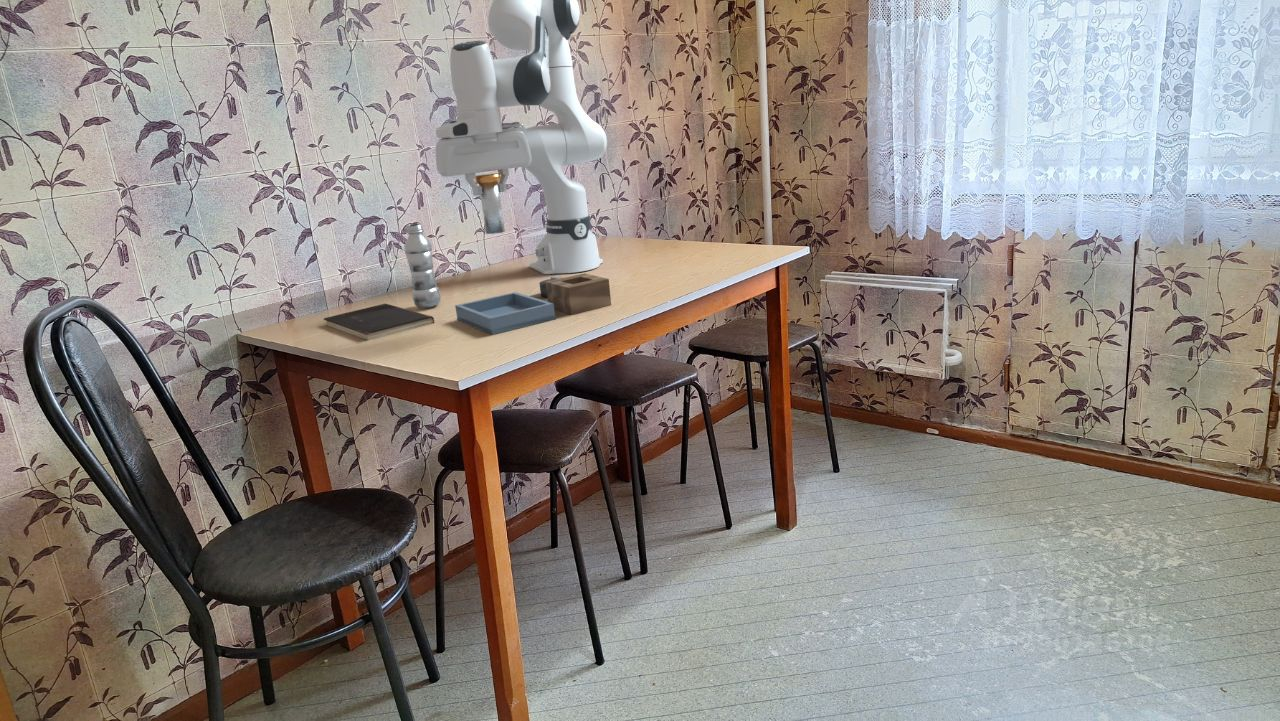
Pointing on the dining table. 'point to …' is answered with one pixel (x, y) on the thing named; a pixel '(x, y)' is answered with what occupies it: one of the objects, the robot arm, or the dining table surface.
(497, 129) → the robot arm
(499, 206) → the pin
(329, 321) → the hardcover book
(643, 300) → the dining table surface
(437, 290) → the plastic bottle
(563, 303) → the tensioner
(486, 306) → the tray
